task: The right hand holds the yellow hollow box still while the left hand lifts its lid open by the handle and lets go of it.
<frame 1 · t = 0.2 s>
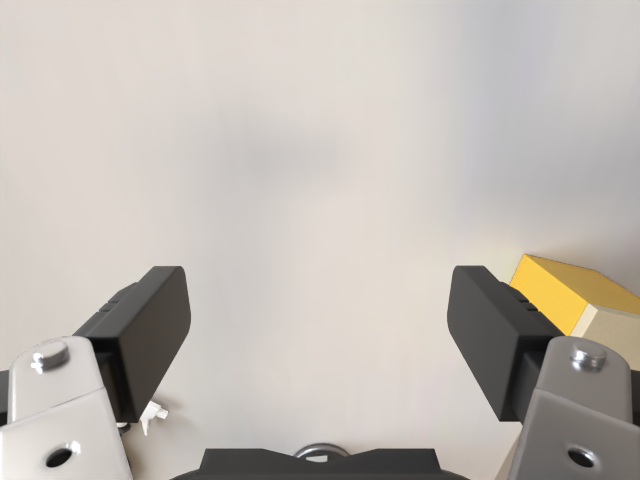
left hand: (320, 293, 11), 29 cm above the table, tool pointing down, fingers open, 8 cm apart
lid: (630, 410, 31), point 15 cm above the table, hinge at 0.0°
spray bottle: (106, 445, 53), on the table
yellow hollow box: (535, 310, 45), on the table
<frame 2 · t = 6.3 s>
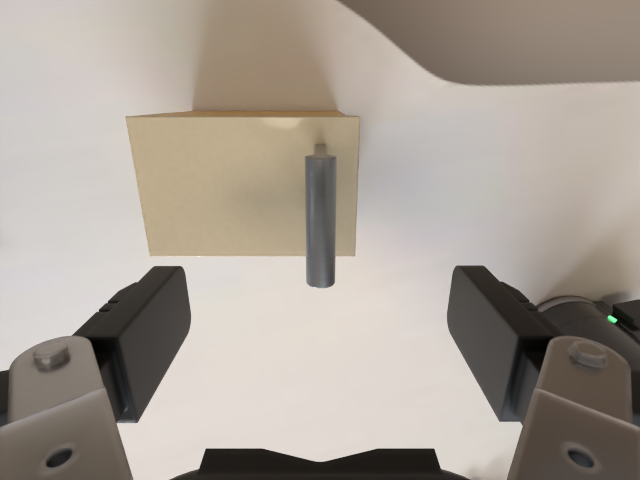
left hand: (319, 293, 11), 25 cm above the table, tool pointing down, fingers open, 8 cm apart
lid: (238, 203, 21), point 15 cm above the table, hinge at 0.0°
yellow hollow box: (267, 161, 35), on the table
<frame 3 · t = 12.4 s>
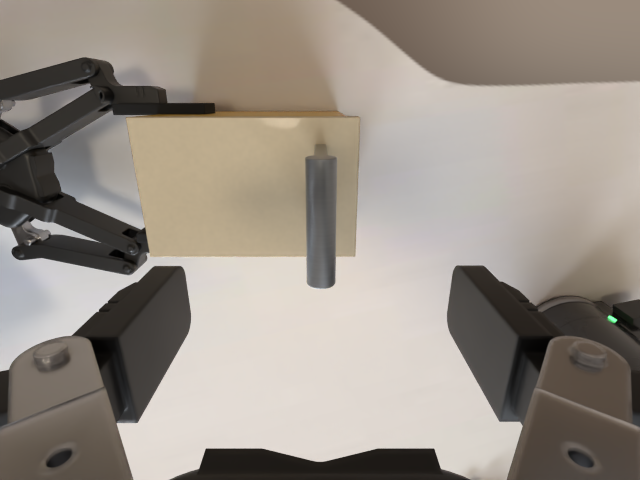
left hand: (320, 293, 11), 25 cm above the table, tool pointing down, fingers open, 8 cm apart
right hand: (216, 174, 29), fingers closed on yellow hollow box, 9 cm apart
lid: (238, 204, 21), point 15 cm above the table, hinge at 0.0°
yellow hollow box: (267, 162, 35), on the table, touching right hand
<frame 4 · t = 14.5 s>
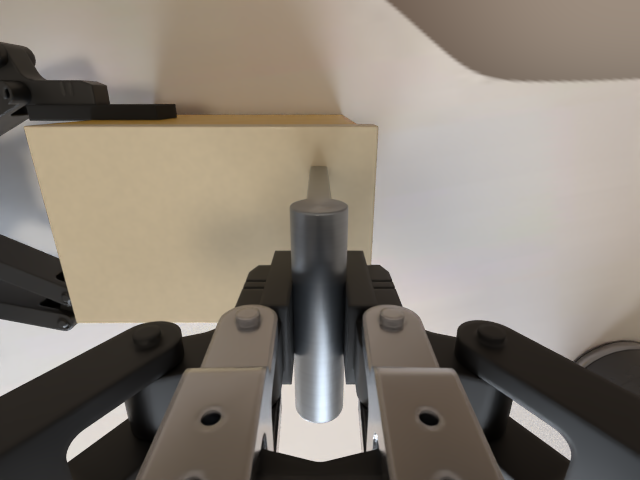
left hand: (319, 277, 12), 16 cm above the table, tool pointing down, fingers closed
lid: (190, 262, 13), point 15 cm above the table, hinge at -0.1°, touching left hand
yellow hollow box: (251, 179, 27), on the table, touching right hand
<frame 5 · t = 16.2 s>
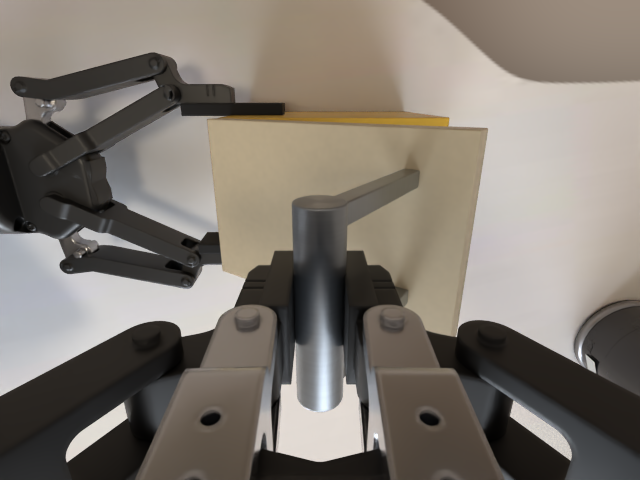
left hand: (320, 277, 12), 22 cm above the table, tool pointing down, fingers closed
right hand: (285, 179, 27), fingers closed on yellow hollow box, 9 cm apart
lid: (274, 239, 16), point 18 cm above the table, hinge at 35.0°, touching left hand
yellow hollow box: (326, 165, 33), on the table, touching right hand
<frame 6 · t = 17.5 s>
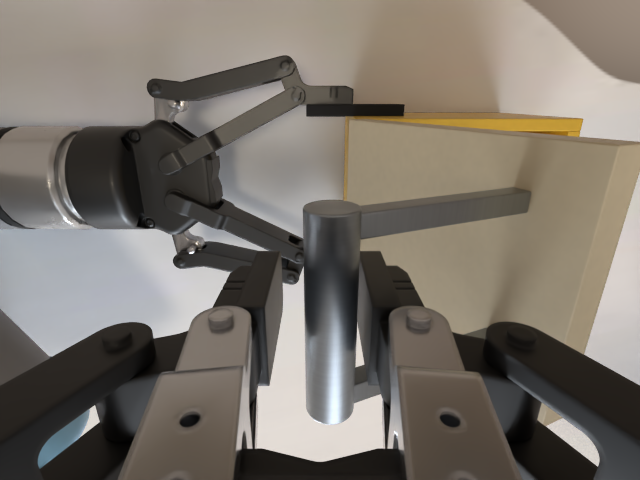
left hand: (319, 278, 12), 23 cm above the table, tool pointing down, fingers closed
right hand: (394, 179, 28), fingers closed on yellow hollow box, 9 cm apart
lid: (359, 242, 15), point 19 cm above the table, hinge at 66.2°
yellow hollow box: (417, 165, 33), on the table, touching right hand
when the right hand's fingers open (6 cm above the table, at t = 21.4 s): yellow hollow box stays where it is, on the table.
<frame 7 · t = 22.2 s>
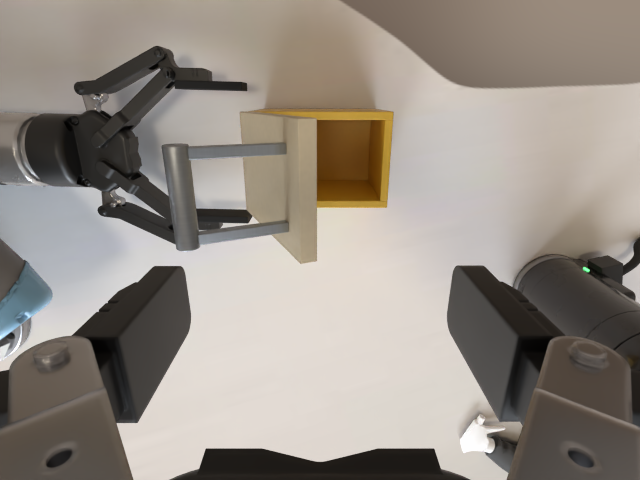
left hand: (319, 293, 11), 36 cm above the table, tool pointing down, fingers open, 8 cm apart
right hand: (248, 155, 40), fingers open, 13 cm apart
lid: (225, 179, 27), point 19 cm above the table, hinge at 65.2°
spray bottle: (526, 447, 63), on the table
yellow hollow box: (320, 148, 45), on the table
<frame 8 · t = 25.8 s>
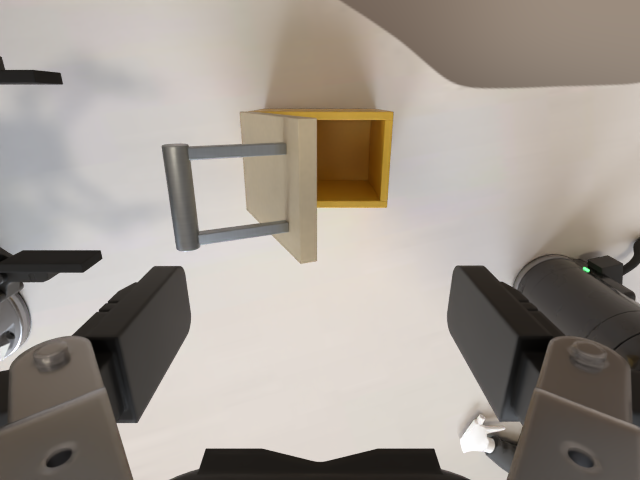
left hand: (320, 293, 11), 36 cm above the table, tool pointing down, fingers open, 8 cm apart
lid: (225, 179, 27), point 19 cm above the table, hinge at 65.2°
spray bottle: (526, 447, 63), on the table
yellow hollow box: (320, 148, 45), on the table
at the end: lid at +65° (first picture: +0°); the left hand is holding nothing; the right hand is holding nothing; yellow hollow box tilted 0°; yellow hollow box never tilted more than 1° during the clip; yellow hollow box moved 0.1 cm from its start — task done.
